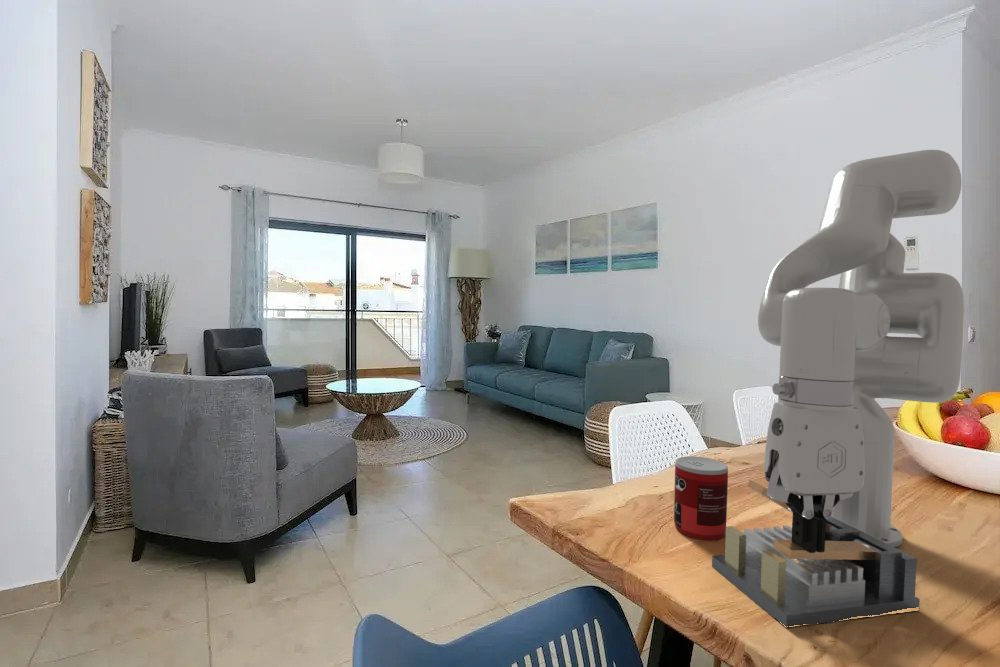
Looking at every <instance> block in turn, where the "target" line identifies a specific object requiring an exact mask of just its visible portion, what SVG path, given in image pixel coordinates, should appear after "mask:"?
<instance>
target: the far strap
mask: <svg viewBox="0 0 1000 667" xmlns="http://www.w3.org/2000/svg"><path fill="white" fill-rule="evenodd" d="M746 487H747V488H749V489H750V490H752V491H754V492H755V493H757V494H759V495H761V496H762V497H765V498H766V499H768V500H769V501H771V502H772V503H774V504H776V505H778V506H779V507H781V508H783V509H784V510H786V511H788V512H790V513H791V514H793V512H792V511H790V510H789V509H788V507H787V505H786V504H785V502H781V501H777V500H775V499H772V498H770V497H768V496H767V494H766V493H767V488H768V487H765V486H763V485H762V484H759V483H758V482H755V481H753V480H751V479H749V481H748V483H747V484H746ZM833 529H837V528H835V527H833V526H831V525H829V524H827V523H826V533H827V534H829V535H831V536H832V530H833Z"/></svg>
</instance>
